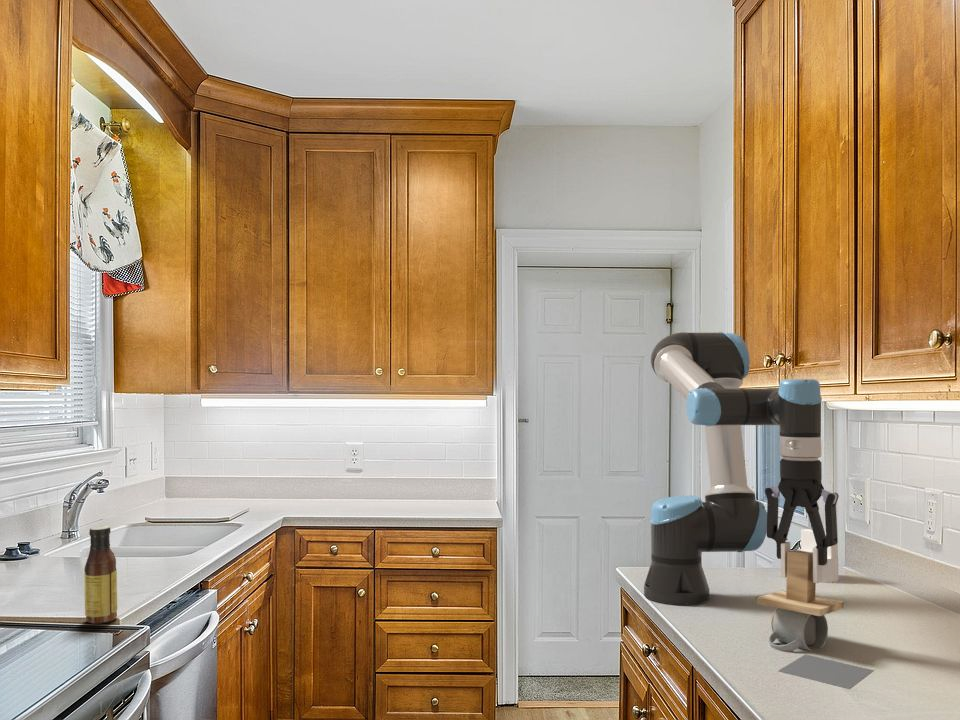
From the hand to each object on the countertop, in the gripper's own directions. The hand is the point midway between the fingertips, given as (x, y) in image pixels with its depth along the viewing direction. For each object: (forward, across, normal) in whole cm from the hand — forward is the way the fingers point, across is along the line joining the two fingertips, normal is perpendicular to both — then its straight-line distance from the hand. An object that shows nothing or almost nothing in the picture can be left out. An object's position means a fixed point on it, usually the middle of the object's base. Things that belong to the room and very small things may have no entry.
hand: (801, 578), depth 156 cm
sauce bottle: (+13, -114, -87) cm, 144 cm away
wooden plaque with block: (+5, 0, 0) cm, 5 cm away
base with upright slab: (+13, -19, +57) cm, 62 cm away
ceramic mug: (+13, -1, -2) cm, 13 cm away
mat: (+13, +9, -12) cm, 20 cm away
